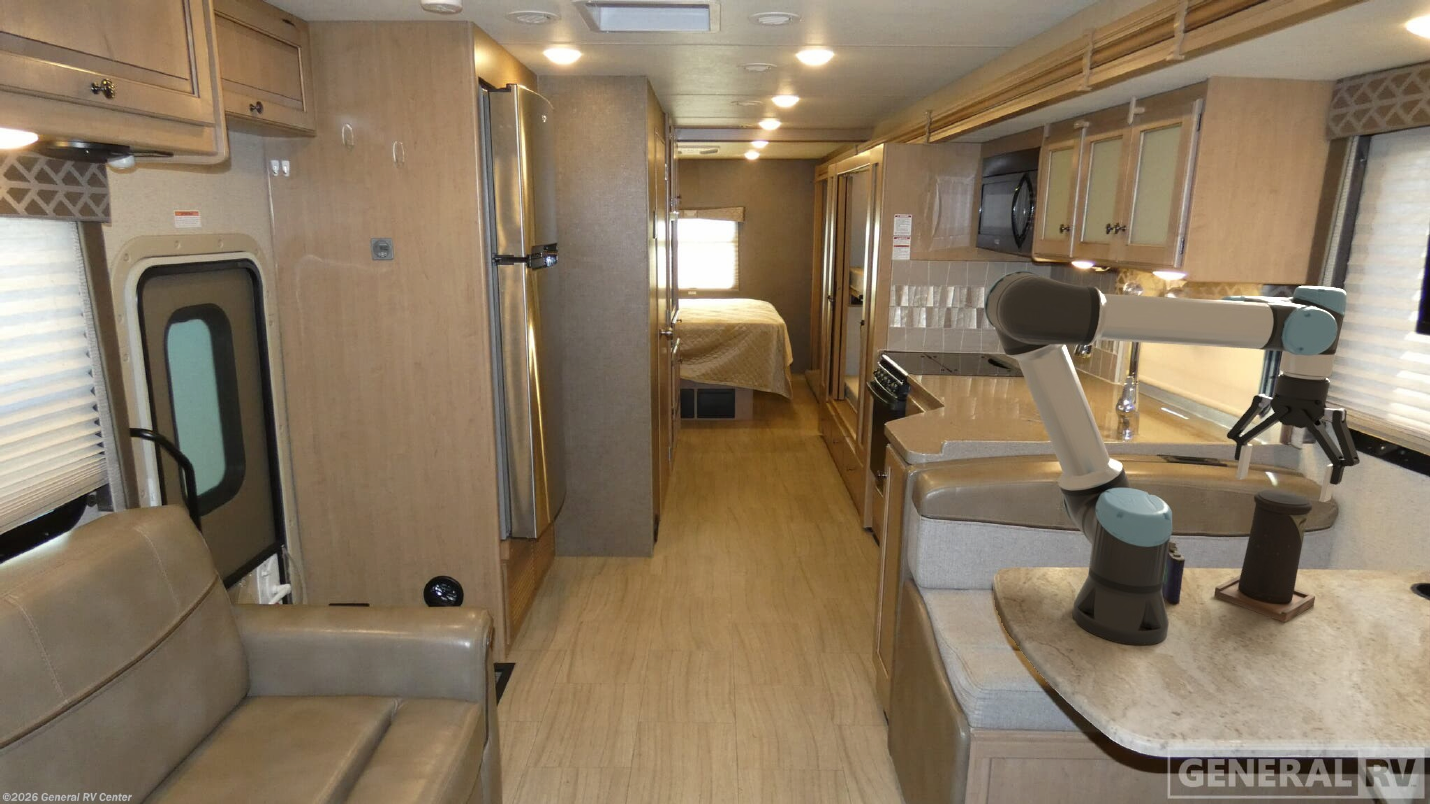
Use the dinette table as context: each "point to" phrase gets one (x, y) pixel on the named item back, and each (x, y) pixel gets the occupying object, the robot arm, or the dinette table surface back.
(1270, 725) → the dinette table surface
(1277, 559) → the container
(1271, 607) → the square wooden tray
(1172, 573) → the flask
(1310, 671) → the dinette table surface
